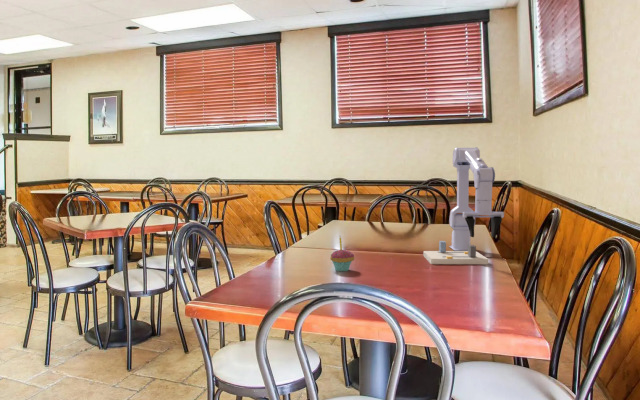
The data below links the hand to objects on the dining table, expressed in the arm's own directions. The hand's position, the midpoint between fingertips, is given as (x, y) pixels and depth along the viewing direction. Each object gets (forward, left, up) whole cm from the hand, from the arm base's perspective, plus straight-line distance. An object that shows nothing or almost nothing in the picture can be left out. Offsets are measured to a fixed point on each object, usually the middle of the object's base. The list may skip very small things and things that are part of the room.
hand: (482, 236), depth 171 cm
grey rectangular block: (-11, -12, -8) cm, 18 cm away
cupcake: (+11, -52, -10) cm, 54 cm away
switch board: (-6, -9, -10) cm, 15 cm away
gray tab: (-2, -3, -8) cm, 9 cm away
